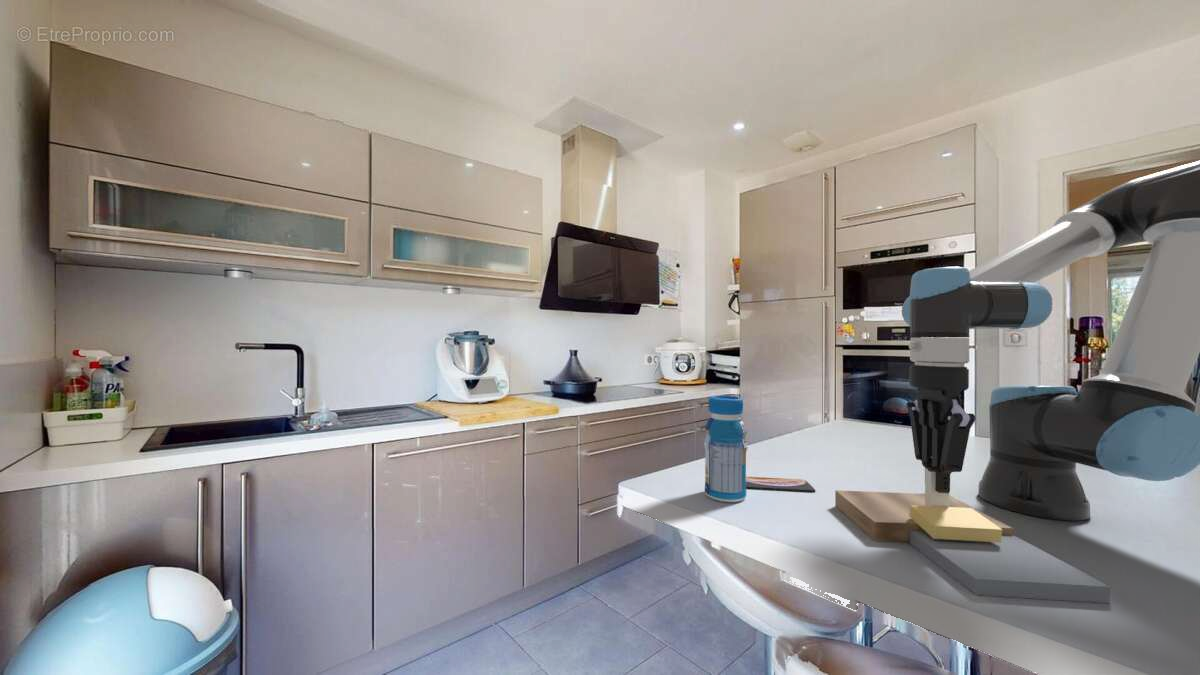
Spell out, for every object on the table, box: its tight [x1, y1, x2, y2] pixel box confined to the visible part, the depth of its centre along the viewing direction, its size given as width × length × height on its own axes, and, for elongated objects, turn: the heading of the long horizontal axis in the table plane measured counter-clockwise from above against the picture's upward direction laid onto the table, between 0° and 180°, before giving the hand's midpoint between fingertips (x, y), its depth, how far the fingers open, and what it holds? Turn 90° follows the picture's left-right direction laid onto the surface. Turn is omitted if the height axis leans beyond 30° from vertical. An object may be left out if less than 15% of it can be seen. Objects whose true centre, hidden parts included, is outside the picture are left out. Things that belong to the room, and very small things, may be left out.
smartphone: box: [746, 476, 816, 494], centre depth 93 cm, size 8×1×15 cm
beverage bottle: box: [703, 395, 748, 503], centre depth 86 cm, size 8×8×20 cm
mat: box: [909, 531, 1111, 604], centre depth 59 cm, size 15×13×2 cm
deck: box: [834, 489, 1014, 544], centre depth 73 cm, size 20×14×3 cm
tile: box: [909, 505, 1002, 542], centre depth 65 cm, size 9×6×2 cm, turn 83°
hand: (936, 509), depth 69 cm, fingers closed
